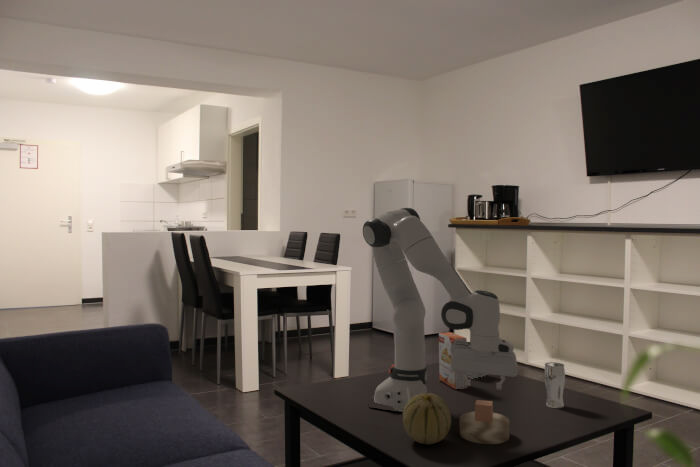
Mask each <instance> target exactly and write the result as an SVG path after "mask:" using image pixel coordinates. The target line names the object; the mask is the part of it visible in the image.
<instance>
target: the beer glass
mask: <svg viewBox="0 0 700 467" xmlns="http://www.w3.org/2000/svg"><path fill="white" fill-rule="evenodd" d="M565 380H566V371H565V364H564V363H560V362H552V361H551V362H545V363H544V384H545V389H546V396H547V397H546V402H545V405H546V407H548V408H551V409H563V408H564V407H565V404H564V399H563V398H564V396H563V395H564V390H565V382H566V381H565Z"/></svg>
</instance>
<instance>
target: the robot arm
mask: <svg viewBox="0 0 700 467" xmlns="http://www.w3.org/2000/svg"><path fill="white" fill-rule="evenodd" d="M362 235H363V239H364V240H365V242H366V243H367V245H368V246H370V247H372V253H373V259H374V262H375V265H376V269H377V271H378V274H379V277H380V280H381V282H382V285H383V288H384V290H385V292H386V294H387V296H388V299H389V301H390V303H391V305H392V307H393V311H392V312H393V313H392V328H393V341H394V364H392V365H390V368H389V369H388V374H389V377H387V378H386V379H385V380H384V381H382V382H381V383H380V384H378V385H377V386H376V388H375V391H374V396H373V397H374V402H375V403H378V404H383V405H387V406H391V407H393V408H394V409H395V410H399V411H403V412H404V408H405V406H406V404H407V403H408V402H409V400H410V399H411V398H412V397H414V396H416V395H418V394H421V393H428V389H427V382H428V369H427V367H426V342H425V340H426V339H425V338H426V337H425V317H426V307H425V304H424V302H423V298H422V297H421V294H420V292H419V290H418V288H417V285H416V283H415V280H414V277H413V275H412V272H411V269H410V266H409V264H411V266H412V267H413V268H414V269H415V270H416V271H418V272H420V273H424V274H426V275H429V276H431V277H433V278H434V279H437V281H439V283H441V285H442V286H443V287H444V289H445V290H446V292H447V293H448V295H449V296H450V297H451V299H452V300H450V301H448V302H447V301H446V303H445V304H443V306H442V309H441V314H440V315H441V320H442V322H443V324H444V325H445V327H446V328H448V329H450V330H455V331H461V330H469V333H470V334H469V341H467V342H460V341H456V342H454V343H452V344H451V353H452V359H451V369H452V370H453V371H461V372H462V376H463V378H464V380H465V386H467V387H471V379H468V378H467V376H466V375H467V372H471V373H481V374H487V375H492V376H500V381H499V382H496V386H495V388H496V390H499V391H500V390H502V385H503V383H504V382H505V381H506V377H510V378H511V377H512V378H513V377H516V376H517V375H518V361H517V355H516V353H515V351H514V349H515V346H514V343H513V342H511V341H508V340H506V339H503V338H501V337H500V331H499V326H500V325H499V324H500V319H501V318H500V317H501V316H500V315H501V314H500V312H501V310H500V309H501V308H500V300H499V297H498V296H497V295H496V294H495V293H493V292H491V291H488V290H487V291H486V290H479V289H478V290H475V291H473V292H471V291H470V289H469V288H468V286H467V285H466V283H465V282H464V280H463V279H462V278H461V276H460V274H458V272H457V271H456V269H455V268H454V266H453V265H452V264H451V263H450V261H449V260H448V258H447V257H446V256H445V254H444V253H443V251H442V249H441V248H440V247H439V245H438V243H437V242H436V240H435V238H434V236H433V235H432V233H431V231H429V229H428V227H427V226H426V225H425V224H424V223H423V222H422V220H421V217H420V215H419V214H418V212H417V211H416V210H415V209H413V208H411V207H402V208H399V209H395V210H391V211H387V212H385V213H382V214H380V215H378V216H376V217H372V218H369V219H368V220H367V221H365V222H364V224H363V226H362ZM407 260H408V261H407ZM408 262H409V263H408Z"/></svg>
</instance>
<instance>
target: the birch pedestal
mask: <svg viewBox="0 0 700 467" xmlns="http://www.w3.org/2000/svg"><path fill="white" fill-rule="evenodd" d="M459 436H460V437H461V438H463V440H465V441H468V442H471V443H474V444H482V445H499V444H503V443H506V442H508V441H509V440H510V419H509V418H508V417H507V416H505V415H503V414H500V413H497V412H493V419H492V422H483V421H475V410H474V411H468V412H465V413H462V414H461V415H460V416H459Z"/></svg>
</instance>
